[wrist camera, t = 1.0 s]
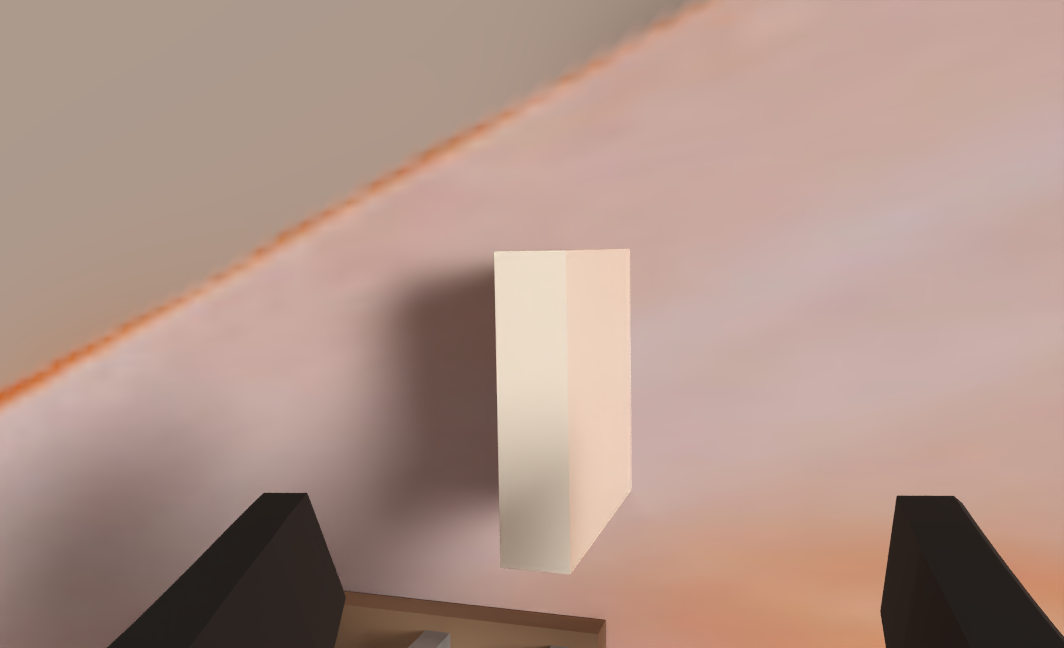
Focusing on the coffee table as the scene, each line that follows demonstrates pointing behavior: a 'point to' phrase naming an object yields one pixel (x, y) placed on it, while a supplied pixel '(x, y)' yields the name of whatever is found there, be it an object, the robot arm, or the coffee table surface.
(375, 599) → the dish rack
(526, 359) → the upright cream panel
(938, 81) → the coffee table surface
